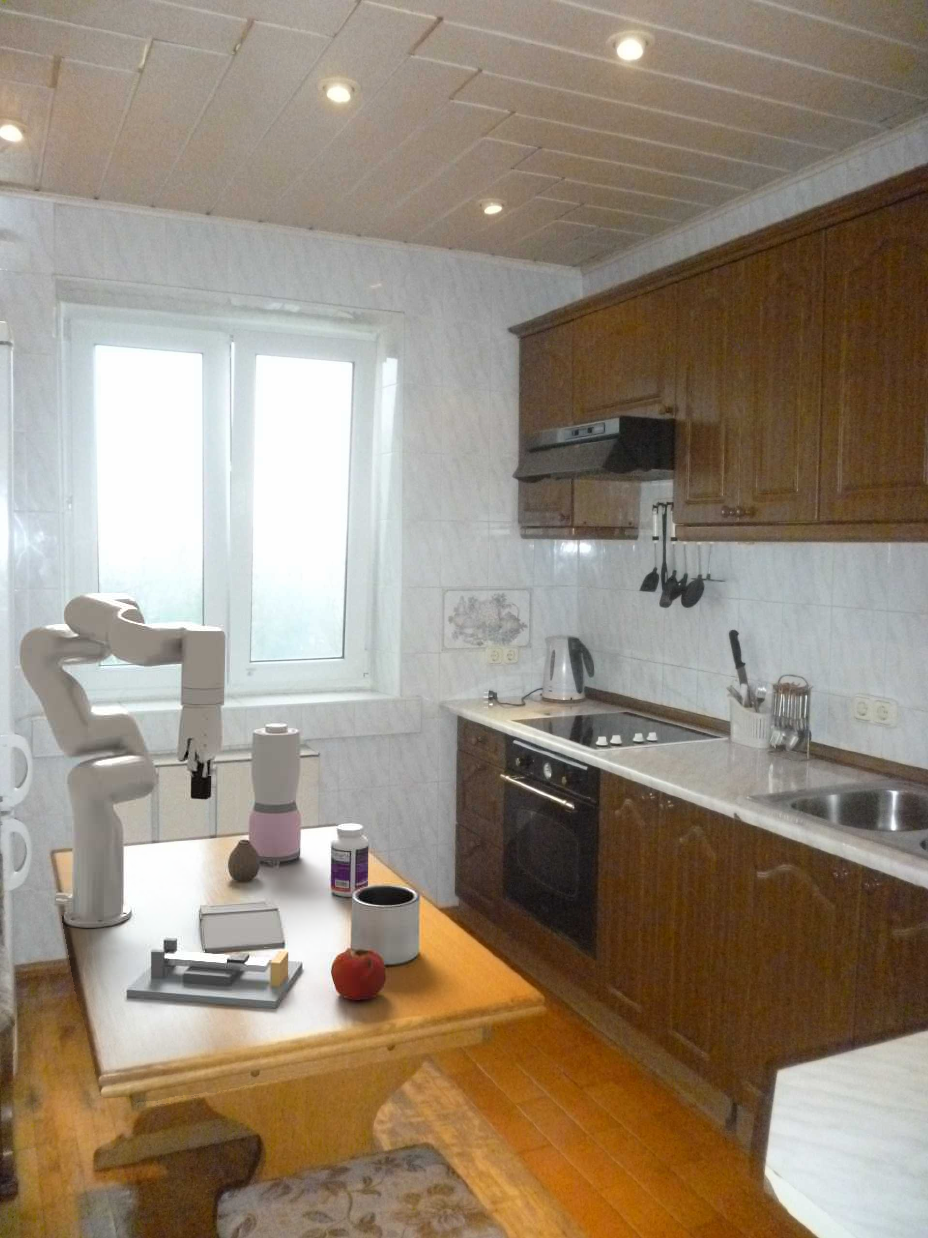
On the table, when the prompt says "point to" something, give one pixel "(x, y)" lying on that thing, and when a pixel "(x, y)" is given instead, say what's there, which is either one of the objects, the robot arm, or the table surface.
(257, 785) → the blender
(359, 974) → the tomato
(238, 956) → the clamp bar
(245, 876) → the vase
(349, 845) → the pill bottle
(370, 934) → the planter
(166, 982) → the clamp base
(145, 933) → the table surface
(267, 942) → the gadget
